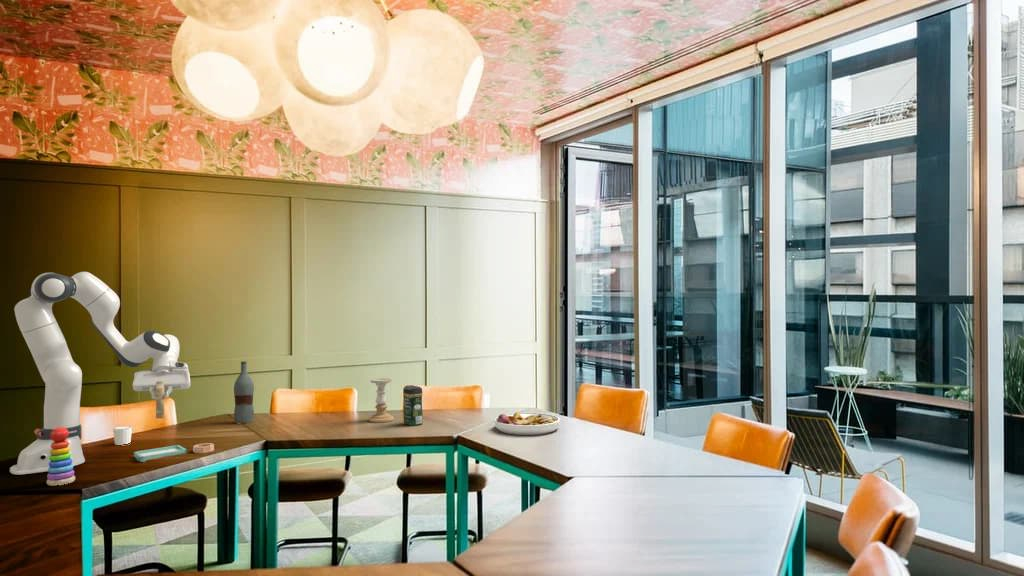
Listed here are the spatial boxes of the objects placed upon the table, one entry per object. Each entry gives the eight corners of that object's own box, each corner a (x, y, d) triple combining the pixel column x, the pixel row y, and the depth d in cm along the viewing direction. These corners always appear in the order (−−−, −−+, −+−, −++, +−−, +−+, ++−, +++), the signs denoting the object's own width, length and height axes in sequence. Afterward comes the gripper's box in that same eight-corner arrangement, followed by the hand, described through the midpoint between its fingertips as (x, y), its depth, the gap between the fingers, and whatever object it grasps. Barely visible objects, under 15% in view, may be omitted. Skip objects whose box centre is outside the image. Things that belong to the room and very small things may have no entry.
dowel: (157, 418, 248) (157, 382, 248) (155, 417, 250) (155, 381, 250) (165, 417, 249) (165, 381, 250) (163, 416, 251) (163, 381, 252)
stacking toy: (76, 478, 220) (76, 423, 220) (73, 484, 213) (73, 428, 213) (48, 481, 216) (48, 426, 217) (44, 488, 209) (44, 430, 209)
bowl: (542, 421, 313) (542, 405, 313) (571, 433, 285) (571, 415, 285) (485, 426, 301) (485, 409, 301) (509, 439, 274) (509, 421, 274)
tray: (140, 462, 240) (140, 456, 240) (133, 457, 248) (133, 451, 248) (186, 455, 251) (186, 449, 251) (178, 450, 259) (178, 444, 259)
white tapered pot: (123, 446, 267) (123, 429, 267) (109, 445, 269) (109, 429, 269) (136, 442, 274) (135, 426, 274) (122, 441, 275) (122, 425, 275)
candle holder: (363, 422, 313) (363, 380, 313) (376, 417, 325) (376, 377, 325) (386, 423, 309) (385, 381, 309) (398, 418, 321) (398, 378, 321)
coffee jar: (400, 423, 308) (400, 385, 309) (415, 421, 313) (415, 383, 313) (410, 426, 301) (410, 387, 301) (425, 424, 306) (425, 385, 306)
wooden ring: (196, 455, 249) (196, 448, 250) (191, 452, 255) (191, 445, 255) (215, 452, 254) (215, 445, 254) (210, 449, 259) (210, 442, 259)
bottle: (246, 424, 310) (246, 362, 310) (229, 424, 311) (229, 362, 312) (257, 420, 319) (257, 360, 319) (241, 420, 320) (240, 360, 321)
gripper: (133, 365, 253) (128, 393, 243) (191, 363, 260) (187, 390, 250) (136, 375, 257) (130, 403, 248) (192, 373, 264) (189, 400, 254)
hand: (159, 397), depth 249 cm, fingers closed on dowel, 3 cm apart
